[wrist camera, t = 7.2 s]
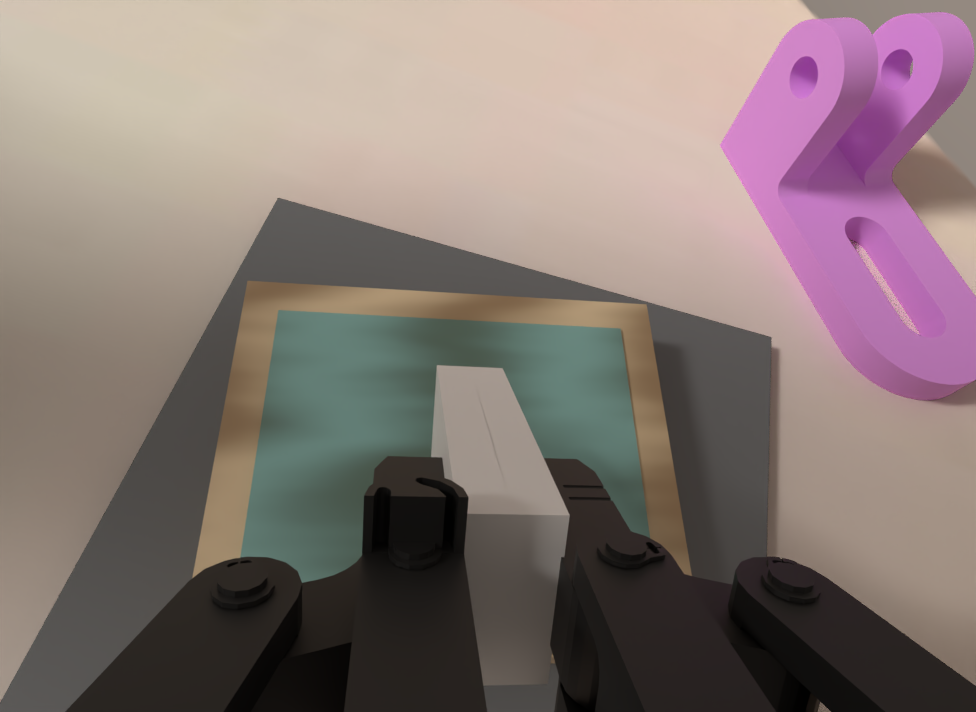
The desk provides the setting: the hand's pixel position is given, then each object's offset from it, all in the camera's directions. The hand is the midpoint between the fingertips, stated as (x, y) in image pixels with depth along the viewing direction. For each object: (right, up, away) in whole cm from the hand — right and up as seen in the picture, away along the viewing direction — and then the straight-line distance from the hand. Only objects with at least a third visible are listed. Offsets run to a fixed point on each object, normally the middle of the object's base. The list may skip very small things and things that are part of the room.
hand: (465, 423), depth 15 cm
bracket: (+15, +5, +12) cm, 20 cm away
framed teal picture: (0, -6, +1) cm, 6 cm away
